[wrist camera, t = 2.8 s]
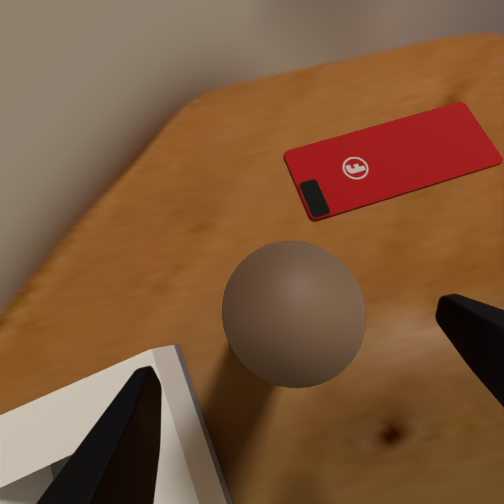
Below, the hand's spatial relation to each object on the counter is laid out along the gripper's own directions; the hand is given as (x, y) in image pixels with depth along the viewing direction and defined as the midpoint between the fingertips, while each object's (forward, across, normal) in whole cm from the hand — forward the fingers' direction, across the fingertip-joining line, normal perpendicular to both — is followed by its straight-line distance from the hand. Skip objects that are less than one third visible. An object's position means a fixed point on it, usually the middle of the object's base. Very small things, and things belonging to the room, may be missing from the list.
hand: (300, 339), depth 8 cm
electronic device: (+14, -11, -1) cm, 18 cm away
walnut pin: (+6, 0, +5) cm, 8 cm away
